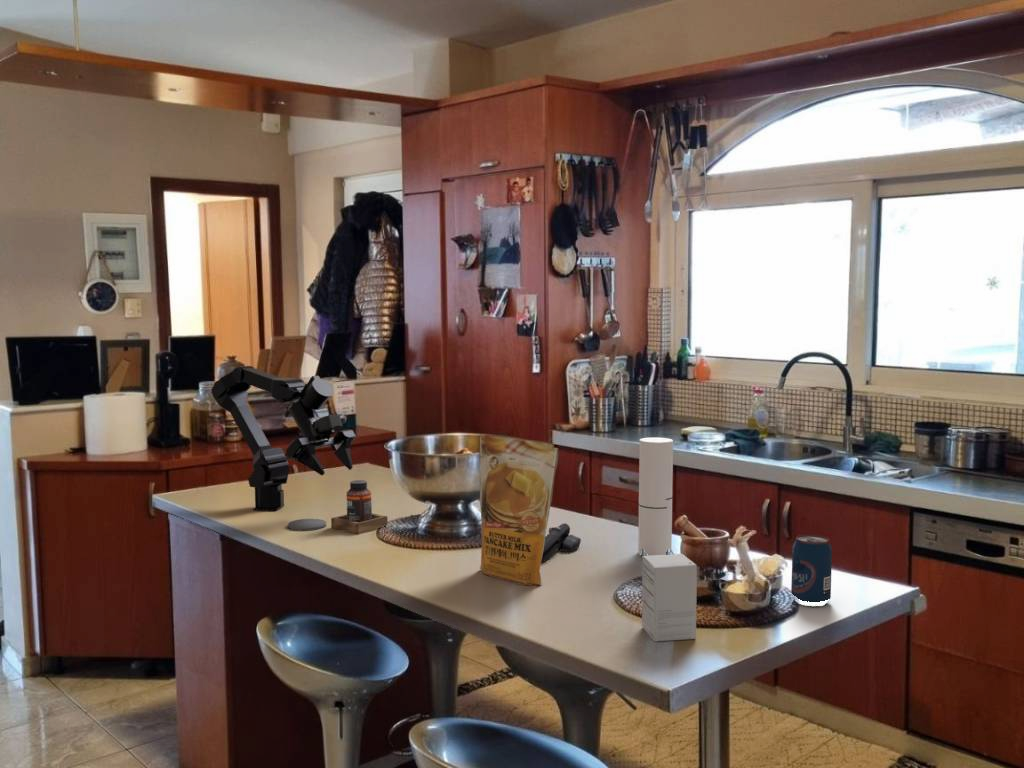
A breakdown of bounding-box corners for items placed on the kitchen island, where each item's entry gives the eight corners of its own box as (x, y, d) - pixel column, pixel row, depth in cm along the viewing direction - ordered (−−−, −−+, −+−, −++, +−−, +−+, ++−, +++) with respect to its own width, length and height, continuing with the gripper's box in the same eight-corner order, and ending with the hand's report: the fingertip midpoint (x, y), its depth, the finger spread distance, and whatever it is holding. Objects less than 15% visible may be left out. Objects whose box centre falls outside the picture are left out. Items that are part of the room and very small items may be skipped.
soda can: (783, 601, 181) (784, 537, 180) (806, 594, 185) (808, 531, 184) (815, 611, 176) (817, 545, 175) (838, 603, 180) (840, 539, 179)
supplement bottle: (374, 524, 240) (373, 479, 239) (368, 530, 234) (368, 484, 233) (350, 524, 241) (349, 478, 240) (344, 530, 235) (343, 483, 234)
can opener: (556, 543, 223) (556, 519, 223) (584, 547, 220) (584, 522, 220) (521, 563, 208) (521, 536, 207) (551, 567, 205) (551, 540, 204)
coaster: (283, 530, 235) (283, 526, 235) (295, 521, 244) (295, 518, 244) (319, 531, 234) (319, 527, 234) (330, 522, 243) (330, 519, 243)
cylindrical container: (678, 553, 214) (679, 440, 211) (657, 559, 209) (658, 443, 207) (652, 547, 219) (653, 436, 217) (631, 553, 214) (632, 439, 212)
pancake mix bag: (490, 564, 206) (489, 431, 203) (560, 582, 193) (561, 441, 191) (467, 571, 201) (466, 435, 198) (538, 590, 188) (539, 445, 186)
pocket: (331, 528, 237) (331, 518, 237) (360, 520, 244) (360, 511, 244) (358, 534, 231) (358, 523, 231) (387, 526, 239) (387, 516, 238)
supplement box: (682, 624, 169) (683, 552, 167) (696, 640, 161) (698, 564, 160) (640, 627, 168) (641, 554, 166) (653, 642, 160) (654, 566, 159)
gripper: (294, 405, 235) (325, 457, 230) (352, 398, 250) (381, 447, 245) (272, 432, 241) (302, 484, 236) (329, 424, 255) (358, 473, 250)
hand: (337, 471), depth 241 cm, fingers open, 9 cm apart
